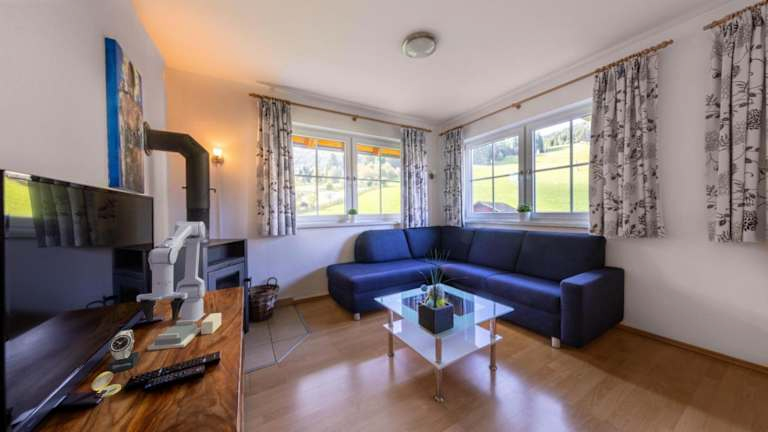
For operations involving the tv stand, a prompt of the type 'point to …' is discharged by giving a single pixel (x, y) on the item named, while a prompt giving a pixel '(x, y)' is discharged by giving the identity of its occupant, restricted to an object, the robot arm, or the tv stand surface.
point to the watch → (123, 352)
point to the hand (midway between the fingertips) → (162, 320)
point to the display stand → (176, 335)
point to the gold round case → (105, 384)
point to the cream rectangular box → (211, 323)
